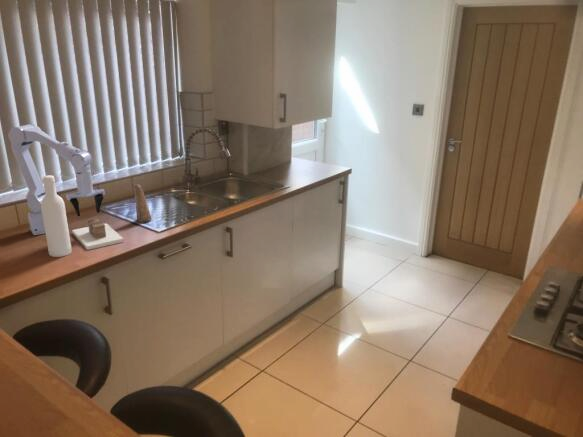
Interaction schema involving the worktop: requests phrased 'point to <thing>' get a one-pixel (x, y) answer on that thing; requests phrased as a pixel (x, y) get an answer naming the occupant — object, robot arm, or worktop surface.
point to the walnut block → (97, 228)
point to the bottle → (55, 220)
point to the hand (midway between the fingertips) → (88, 213)
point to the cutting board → (93, 243)
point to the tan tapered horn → (141, 205)
